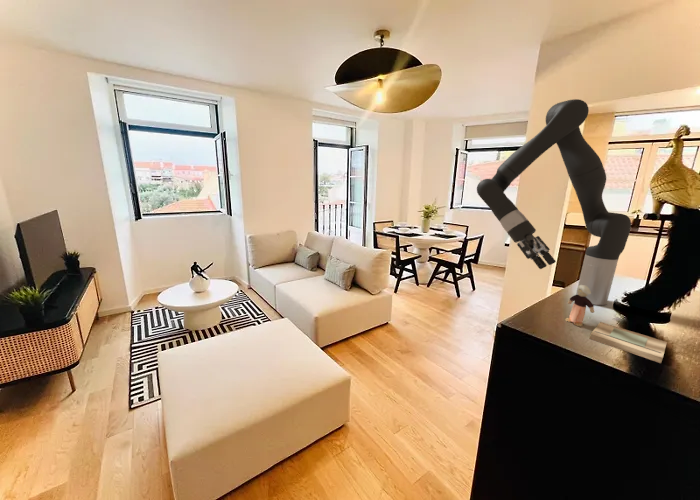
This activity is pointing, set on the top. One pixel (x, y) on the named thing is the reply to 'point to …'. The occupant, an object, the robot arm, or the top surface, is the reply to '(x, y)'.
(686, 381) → the top surface
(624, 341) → the oak board
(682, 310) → the top surface
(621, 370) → the top surface
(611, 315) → the top surface
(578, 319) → the grandmother figurine
